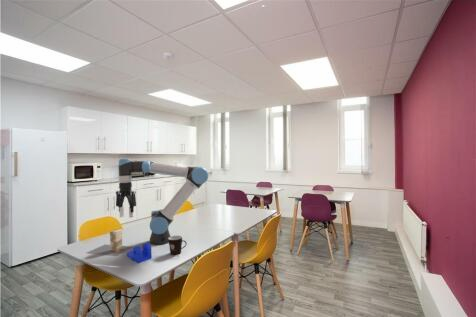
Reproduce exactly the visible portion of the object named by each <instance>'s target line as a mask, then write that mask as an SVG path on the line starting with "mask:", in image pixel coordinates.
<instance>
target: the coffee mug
mask: <svg viewBox="0 0 476 317" xmlns="http://www.w3.org/2000/svg"><path fill="white" fill-rule="evenodd" d="M170 236H171V237H169V238H168V240H169V242H168V245H169V246H168V247H169V252H170V255H171V256H178V255H181V254H182V250H183V249H184V248H185V247H187V244H188V243H187V240H184V239H183V236H182V235H170ZM183 242H184V243H185V245H184V246H183ZM182 246H183V247H182Z"/></svg>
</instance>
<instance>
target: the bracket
mask: <svg viewBox="0 0 476 317" xmlns="http://www.w3.org/2000/svg"><path fill="white" fill-rule="evenodd" d="M152 253H153V252H152V246H151V244H150V242H146V243H143V244H142V249H141V246H139V245H136V246H132V250H129V251H127V253H126V257H127V258H129V259H130V260H132V261H133V262H135V263H136V264H140V263H143V262H146V261H149V260H151V259H152V258H153V256H152Z"/></svg>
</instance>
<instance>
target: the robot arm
mask: <svg viewBox="0 0 476 317" xmlns="http://www.w3.org/2000/svg"><path fill="white" fill-rule="evenodd" d="M132 173H137V174H138V173H149V174H150V173H151V174H156V175H158V174H159V175H164V176H171V177H178V178H184V179H185V182H184V184H183V185H182V186H181V187H180V189H179V190H177V192H176V193H175V194H174V196H173V197H172V198H171V199H170V200H169V202H168V203H167V204H166V205H165V206H164V208H162V209H157V210H151V213H150V217H151V218H150V219H151V220H150V223H149V229H150V231H151V233H150V237H149V244H150V245H155V246H160V245H165V244H169V240H168V238H169V237H171V236H172V235H171V234H170V230H169V226H170V225H172V223H173V221H174V217H175V216H176V214H177V213H178V212H179V210H180V209H181V208H182V207H183V206H184V204H185V203H186V202H187V201H188V199H189V198H190V197H191V196H192V194H194V192H195V191H196V190H199V189H200V188H201V187H202V186H203V184H205V183H206V182H207V181H208V179H209V173H208V170H207V169H206V168H205V167H203V166H186V167H183V166H177V165H171V164H163V163H159V162H158V163H157V162H150V161H149V160H142V161H141V160H140V161H132V159H131V158H119V160H118V182H119V183H118V188H119V190H117V191H115V195H116V197H115V206H116V207H118V212H119V218H123V217H125V215H124V214H125V213H124V212H125V209H124V202H125V198H127V201H128V202H127V203H128V205H129V207H128V217H129V219H131V218H134V211H135V210H134V207H136V206H137V198H136V193H137V191H136V190H132V187H133V182H132V180H133V179H132Z"/></svg>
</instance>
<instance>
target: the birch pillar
mask: <svg viewBox="0 0 476 317" xmlns="http://www.w3.org/2000/svg"><path fill="white" fill-rule="evenodd" d="M109 245H110V251H111V252H118V251H120V250H122V246H123V230H122V229H112V230H111V231H109Z"/></svg>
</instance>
